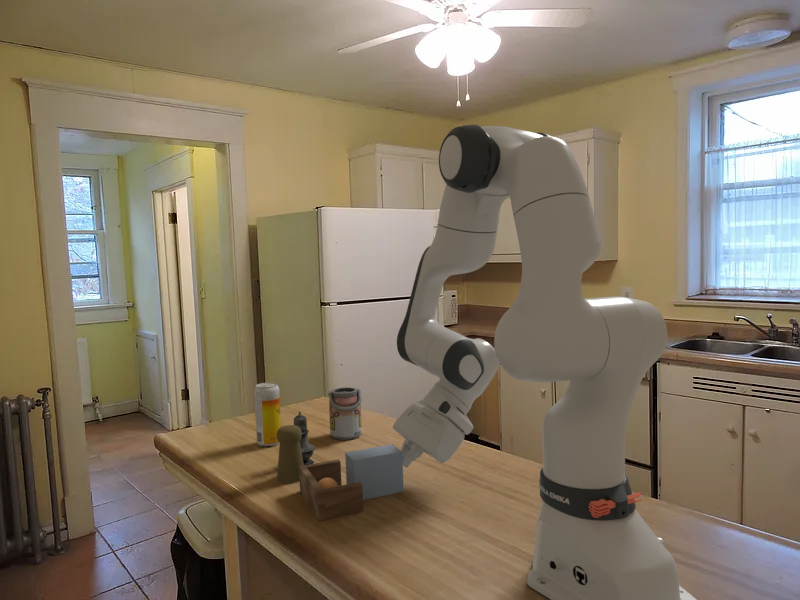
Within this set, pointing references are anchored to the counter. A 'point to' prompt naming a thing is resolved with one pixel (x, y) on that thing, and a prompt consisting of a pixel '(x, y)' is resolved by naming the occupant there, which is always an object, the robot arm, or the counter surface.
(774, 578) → the counter surface
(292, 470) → the olive pawn
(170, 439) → the counter surface
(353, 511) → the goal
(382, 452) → the block
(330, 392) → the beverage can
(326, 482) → the ball
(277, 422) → the beer can
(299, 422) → the grey chess bishop
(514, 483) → the counter surface
